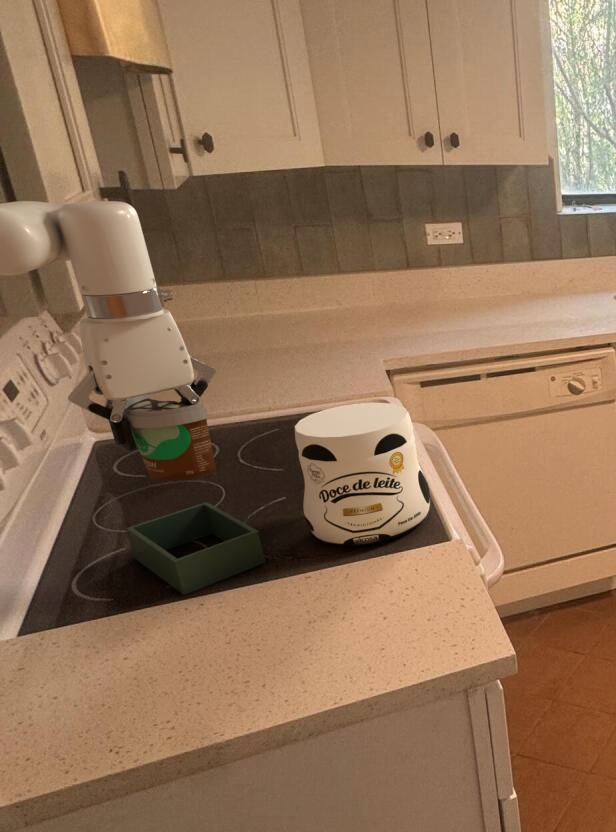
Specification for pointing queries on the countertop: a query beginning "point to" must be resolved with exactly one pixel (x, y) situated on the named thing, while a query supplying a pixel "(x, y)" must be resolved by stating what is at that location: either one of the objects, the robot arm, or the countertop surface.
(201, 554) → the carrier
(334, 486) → the milk container
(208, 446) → the food container
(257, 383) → the countertop surface
